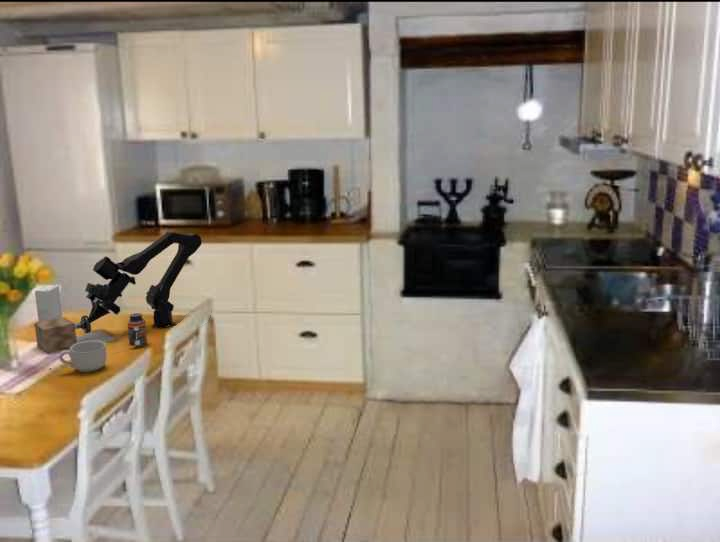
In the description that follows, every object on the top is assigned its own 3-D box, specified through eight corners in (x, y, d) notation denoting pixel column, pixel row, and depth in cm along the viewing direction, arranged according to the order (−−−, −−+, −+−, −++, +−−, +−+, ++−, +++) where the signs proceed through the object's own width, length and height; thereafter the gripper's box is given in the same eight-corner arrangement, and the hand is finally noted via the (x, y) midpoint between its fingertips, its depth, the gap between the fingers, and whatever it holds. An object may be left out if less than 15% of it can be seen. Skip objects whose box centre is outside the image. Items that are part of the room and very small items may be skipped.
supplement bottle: (142, 348, 235) (138, 317, 233) (126, 348, 236) (123, 316, 234) (150, 343, 241) (147, 312, 238) (135, 342, 242) (132, 312, 240)
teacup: (108, 361, 223) (105, 338, 222) (108, 372, 213) (106, 347, 212) (62, 367, 218) (59, 344, 217) (60, 379, 209) (57, 354, 207)
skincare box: (49, 320, 273) (45, 285, 270) (64, 320, 273) (59, 284, 270) (38, 327, 265) (33, 290, 262) (53, 327, 265) (48, 290, 261)
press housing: (67, 339, 244) (64, 317, 242) (77, 346, 236) (74, 323, 234) (37, 346, 238) (34, 323, 236) (47, 353, 230) (43, 329, 228)
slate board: (101, 333, 254) (100, 330, 254) (116, 342, 243) (116, 339, 243) (36, 347, 240) (35, 345, 239) (49, 357, 228) (48, 355, 228)
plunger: (85, 330, 246) (83, 313, 244) (91, 334, 241) (89, 317, 240) (55, 337, 239) (52, 319, 238) (60, 341, 234) (58, 323, 233)
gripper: (89, 270, 250) (61, 305, 245) (108, 278, 236) (79, 315, 231) (112, 287, 256) (86, 321, 252) (132, 296, 242) (104, 332, 238)
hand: (88, 322), depth 243 cm, fingers closed, pressing on plunger
